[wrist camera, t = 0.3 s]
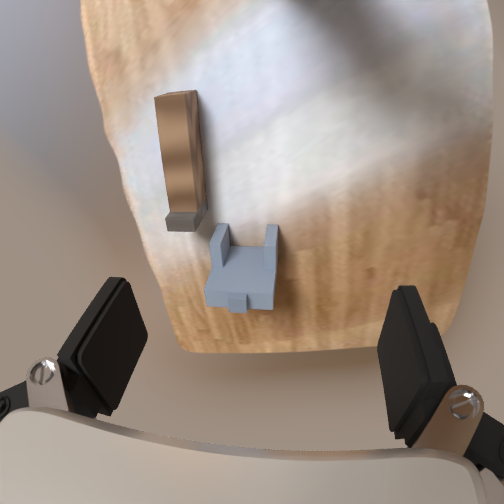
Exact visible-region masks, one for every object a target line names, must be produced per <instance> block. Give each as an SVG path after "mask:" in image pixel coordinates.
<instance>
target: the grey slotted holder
mask: <svg viewBox="0 0 504 504" xmlns="http://www.w3.org/2000/svg"><path fill="white" fill-rule="evenodd" d="M209 248H210V256H211V263H212V269H211V272H210V275H209V277H208V280H207V283H206V286H205V288H204V292H205V298H206V304H207V306H214V307H228V308H229V312H235V313H247V310H248V309H263V310H273V306H274V296H275V286H276V277H277V266H278V225H267V230H266V236H265V242H264V247H254V246H230V239H229V227H228V224H220V223H218V225H217V227H216V229H215V232H214V234H213V236H212V238H211V241H210V243H209Z"/></svg>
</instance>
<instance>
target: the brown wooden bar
mask: <svg viewBox="0 0 504 504" xmlns="http://www.w3.org/2000/svg"><path fill="white" fill-rule="evenodd" d="M154 100H155V109H156V117H157V126H158V134H159V141H160V149H161V156H162V163H163V170H164V177H165V183H166V190H167V196H168V202H169V208H170V213H169V214H168V215H167V217H166V218H165V220H166V225H167V231H178V232H195V231H196V230H197V228H198V226H199V224H200V222H201V220H202V218H203V216H204V215H205V213H206V211H207V209H208V207H207V198H206V189H205V180H204V170H203V160H202V150H201V139H200V128H199V117H198V105H197V92H196V90H189V91H179V92H170V93H166V94H163V95H160V96H157V97H154Z"/></svg>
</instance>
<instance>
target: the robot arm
mask: <svg viewBox="0 0 504 504" xmlns="http://www.w3.org/2000/svg"><path fill="white" fill-rule="evenodd" d="M147 338H148V334H147V330H146V327H145V325H144V322H143V320H142V317H141V314H140V311H139V308H138V305H137V303H136V300H135V297H134V294H133V291H132V288H131V285H130V283H129V282H127V281H126V279H125V278H122V277H109V278H108V279H107V281H106V282H105V283H104V285H103V286H102V288H101V289H100V291H99V292H98V293H97V295H96V296H95V298H94V299H93V301H92V302H91V304H90V305H89V306H88V308H87V309H86V311H85V312H84V314H83V315H82V317H81V318H80V320H79V321H78V323H77V324H76V326H75V327H74V329H73V330H72V332H71V333H70V335H69V337H68V338H67V340H66V341H65V343H64V344H63V346H62V348H61V349H60V351H59V353H58V354H57V355H58V359H57V361H56V360H55V359H53V358H47V357H45V358H41V359H39V360H37V361H35V362H34V363H33V364H32V365H31V366H30V368H29V369H28V372H27V375H26V381H24V382H22V383H20V384H18V385H15V386H13V387H11V388H9V389H7V390H4V391H2V392H0V504H504V425H503V424H502V423H500V422H499V421H497V420H495V419H494V418H492V417H491V416H489V415H488V414H486V413H485V412H483V411H484V401H483V399H482V397H481V395H480V394H479V392H477V391H476V390H475V389H474V388H472V387H470V386H467V385H457V384H456V381H455V378H454V374H453V371H452V368H451V365H450V362H449V360H448V356H447V353H446V350H445V348H444V345H443V342H442V339H441V336H440V334H439V331H438V328H437V326H436V324H434V323H430V321H429V319H428V316H427V313H426V311H425V308H424V306H423V303H422V300H421V298H420V295H419V293H418V291H417V288H416V286H399V287H398V289H397V290H393V292H392V295H391V299H390V303H389V307H388V310H387V314H386V317H385V321H384V324H383V328H382V331H381V335H380V338H379V341H378V346H377V347H378V348H377V352H378V358H379V363H380V369H381V375H382V381H383V387H384V394H385V400H386V407H387V415H388V421H389V429H390V431H391V432H394V434H395V439H403V438H404V439H405V444H406V445H407V448H395V449H376V450H355V451H354V450H353V451H288V450H270V449H256V448H244V447H233V446H225V445H217V444H210V443H202V442H196V441H190V440H184V439H178V438H173V437H167V436H162V435H157V434H152V433H148V432H143V431H139V430H135V429H130V428H126V427H122V426H118V425H114V424H110V423H107V422H103V421H100V420H97V419H96V416H97V414H98V413H100V414H104V415H107V416H111V414H112V412H113V410H116V409H117V407H118V405H119V403H120V401H121V398H122V396H123V394H124V391H125V389H126V387H127V384H128V382H129V380H130V377H131V375H132V373H133V371H134V368H135V366H136V364H137V362H138V359H139V357H140V355H141V353H142V351H143V348H144V346H145V344H146V342H147ZM487 499H488V500H487Z"/></svg>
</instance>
